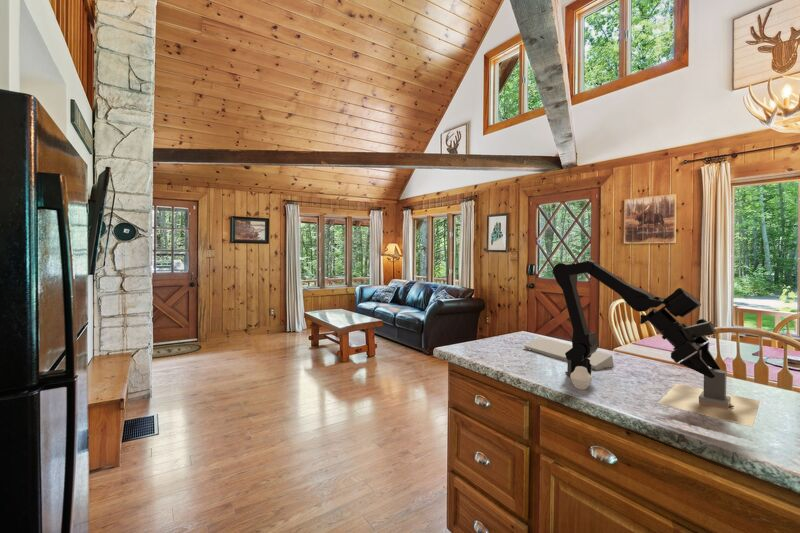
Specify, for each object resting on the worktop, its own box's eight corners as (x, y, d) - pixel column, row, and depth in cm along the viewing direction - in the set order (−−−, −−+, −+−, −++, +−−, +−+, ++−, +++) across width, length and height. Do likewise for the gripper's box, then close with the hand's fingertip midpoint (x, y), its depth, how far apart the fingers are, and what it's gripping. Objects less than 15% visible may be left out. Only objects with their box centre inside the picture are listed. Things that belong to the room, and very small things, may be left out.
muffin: (569, 389, 117) (570, 367, 117) (569, 383, 123) (570, 362, 122) (592, 392, 115) (592, 370, 114) (591, 386, 120) (591, 364, 120)
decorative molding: (597, 378, 137) (613, 367, 141) (595, 366, 136) (612, 355, 141) (525, 355, 167) (541, 346, 172) (523, 345, 166) (539, 336, 171)
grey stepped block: (698, 403, 103) (699, 370, 103) (702, 397, 107) (703, 365, 107) (727, 409, 99) (728, 375, 99) (730, 403, 103) (731, 370, 103)
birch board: (654, 408, 103) (654, 403, 103) (674, 386, 120) (674, 382, 120) (754, 434, 89) (755, 428, 89) (762, 405, 105) (762, 400, 105)
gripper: (687, 313, 100) (741, 364, 92) (700, 306, 112) (749, 351, 105) (651, 338, 106) (699, 387, 98) (667, 329, 118) (711, 372, 111)
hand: (716, 373), depth 103 cm, fingers open, 9 cm apart
